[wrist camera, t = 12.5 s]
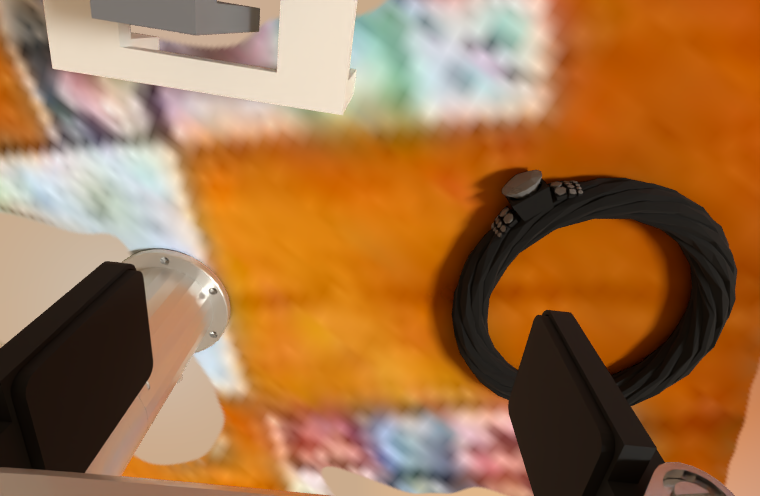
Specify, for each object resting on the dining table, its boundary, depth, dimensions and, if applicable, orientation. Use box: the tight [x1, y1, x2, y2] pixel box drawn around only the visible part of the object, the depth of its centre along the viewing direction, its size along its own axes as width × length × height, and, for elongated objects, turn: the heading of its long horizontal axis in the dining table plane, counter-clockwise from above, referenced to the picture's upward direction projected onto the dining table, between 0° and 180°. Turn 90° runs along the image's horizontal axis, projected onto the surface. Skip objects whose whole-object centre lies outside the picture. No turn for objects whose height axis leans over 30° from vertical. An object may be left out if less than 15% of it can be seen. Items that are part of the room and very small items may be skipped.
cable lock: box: [452, 170, 737, 406], centre depth 47 cm, size 28×4×30 cm
